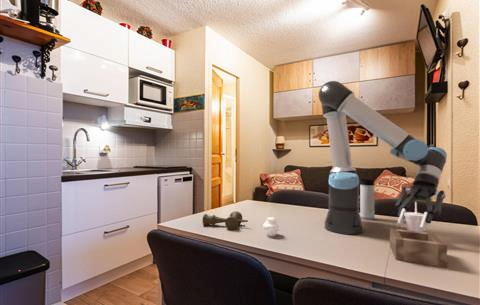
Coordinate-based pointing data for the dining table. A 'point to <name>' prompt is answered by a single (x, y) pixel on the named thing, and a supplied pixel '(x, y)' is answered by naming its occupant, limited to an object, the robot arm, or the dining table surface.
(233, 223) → the kendama
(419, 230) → the smoothie
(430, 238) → the brown open square box
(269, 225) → the white vase
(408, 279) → the dining table surface
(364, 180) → the travel mug
